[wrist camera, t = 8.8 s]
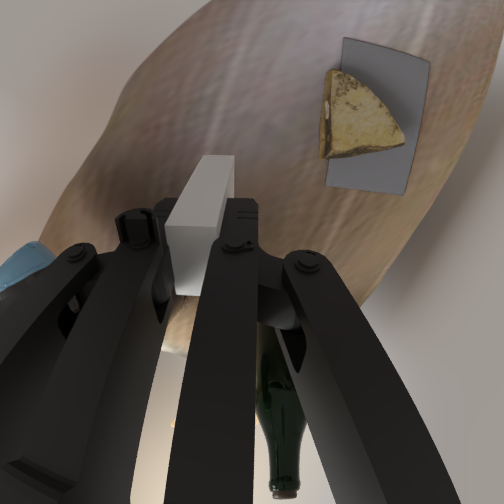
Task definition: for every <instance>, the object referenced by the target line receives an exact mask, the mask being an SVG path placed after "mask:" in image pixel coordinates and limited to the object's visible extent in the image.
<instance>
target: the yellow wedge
mask: <svg viewBox="0 0 504 504" xmlns="http://www.w3.org/2000/svg"><path fill="white" fill-rule="evenodd" d="M319 140H320V153H319V156H318V158H319V160H326V159H339V158H348V157H354V156H358V155H362V154H367V153H374V152H380V151H383V150H389V149H392V148H396V147H401V146H404V145H405V142H406V141H405V136H404V134H403V132H402V131H401V129H400V127H399V126H398V124H397V122H396V121H395V119H394V118H393V117H392V116H391V114H390V111H389V109H388V108H387V106H385V104H384V103H383V102H382V101H381V100H380V99H379V98H378V97H377V96H376V95H375V94H374V93H373V92H372V91H371V90H370V89H369V87H368V86H366V85H364V84H362V83H360V82H359V81H358V80H356V79H355V78H354V77H352V76H351V75H349V74H347V73H343V72H341V71H338V70H333V69H332V70H330V71H328V72H327V74H326V79H325V93H324V96H323V105H322V111H321V118H320V129H319Z"/></svg>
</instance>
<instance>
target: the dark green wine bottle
mask: <svg viewBox="0 0 504 504" xmlns="http://www.w3.org/2000/svg"><path fill="white" fill-rule="evenodd" d="M255 412H256V415H257V418H258V420H259V423H260V425H261V427H262V430H263V432H264V435H265V438H266V441H267V445H268V452H269V463H270V481H269V489H270V491H271V492H273V498H274V499H293V498H296V497H297V493H296V492H297V491H298V490H299V489H300V477H299V460H300V447H301V441H302V437H303V433H304V430H305V428H306V425H307V420H306V417H305V414H304V412H303V409H302V406H301V403H300V400H299V397H298V394H297V392H296V389H295V386H294V383H293V380H292V377H291V374H290V372H289V369H288V366H287V363H286V360H285V357H284V354H283V352H282V349H281V346H280V343H279V340H278V337H277V334H276V331H275V327H272V326H269V325H266V324H263V323H259V322H257V358H256V404H255Z"/></svg>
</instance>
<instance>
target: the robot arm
mask: <svg viewBox="0 0 504 504" xmlns="http://www.w3.org/2000/svg"><path fill="white" fill-rule="evenodd" d="M115 222H116V226H117V231H118V235H119V239H120V244H119V246H118V247H117V249H116V250H115V251H113V252H108V253H102V254H97V252H96V249H95V247H94V245H92V244H90V243H78V244H75V245H73V246H71V247H69V248H67V249H66V250H65V251H63V252H62V253H61V254H60V255H59V256H58V257H56V256H55V255H54V254H53V253H52V252H51V251H50V250H49V249H48V248H47V247H46V246H45V245H44V244H42V243H41V242H38V241H31V242H29V243H27V244H25V245H24V246H23V247H21V248H20V249H19V250H17V251H16V252H15V253H14V254H13V255H12V256H11V257H9V258H8V259H7V260H6V261H5V262H4V263H3V264H2V265H1V266H0V504H130V493H131V487H132V481H133V475H134V469H135V463H136V458H137V452H138V447H139V442H140V437H141V432H142V427H143V423H144V418H145V413H146V409H147V404H148V400H149V395H150V391H151V387H152V383H153V378H154V374H155V370H156V366H157V362H158V358H159V354H160V351H161V347H162V343H163V339H164V336H165V332H166V328H167V325H168V324H169V323H170V322H171V320H172V319H173V318H174V317H175V315H176V314H177V313H178V312H179V310H180V308H181V306H182V303H183V300H184V296H185V295H190V296H200V298H199V303H198V307H197V312H196V317H195V321H194V326H193V331H192V336H191V341H190V346H189V351H188V356H187V361H186V366H185V372H184V377H183V382H182V388H181V393H180V399H179V405H178V410H177V417H176V422H175V428H174V435H173V440H172V447H171V453H170V460H169V467H168V474H167V481H166V489H165V497H164V503H163V504H253V480H254V444H255V404H256V358H257V322H259V323H263V324H266V325H269V326H272V327H275V331H276V334H277V337H278V340H279V343H280V346H281V349H282V352H283V354H284V357H285V360H286V363H287V366H288V369H289V372H290V374H291V377H292V380H293V383H294V386H295V389H296V392H297V394H298V397H299V400H300V403H301V406H302V409H303V412H304V414H305V417H306V420H307V423H308V426H309V429H310V431H311V434H312V437H313V440H314V443H315V446H316V448H317V451H318V454H319V457H320V459H321V462H322V465H323V468H324V471H325V474H326V477H327V479H328V482H329V485H330V488H331V491H332V494H333V496H334V499H335V502H336V504H461V503H460V500H459V497H458V495H457V493H456V490H455V488H454V485H453V483H452V481H451V479H450V476H449V474H448V472H447V470H446V467H445V465H444V463H443V461H442V459H441V456H440V454H439V452H438V450H437V448H436V446H435V444H434V442H433V440H432V438H431V436H430V434H429V431H428V429H427V427H426V425H425V423H424V421H423V419H422V418H421V416H420V414H419V412H418V410H417V408H416V406H415V404H414V402H413V400H412V398H411V396H410V395H409V393H408V391H407V389H406V387H405V385H404V383H403V382H402V380H401V378H400V376H399V374H398V373H397V371H396V369H395V367H394V365H393V364H392V362H391V360H390V358H389V357H388V355H387V353H386V351H385V350H384V348H383V346H382V344H381V343H380V341H379V339H378V338H377V336H376V334H375V333H374V331H373V329H372V328H371V326H370V324H369V323H368V321H367V319H366V318H365V316H364V315H363V313H362V311H361V310H360V308H359V306H358V305H357V303H356V301H355V300H354V298H353V297H352V295H351V293H350V292H349V290H348V289H347V287H346V286H345V284H344V282H343V281H342V279H341V278H340V276H339V275H338V273H337V272H336V270H335V268H334V267H333V265H332V264H331V262H330V261H329V260H328V259H327V258H326V257H325V256H323V255H322V254H320V253H318V252H314V251H311V250H297V251H293V252H291V253H289V254H288V255H286V256H285V258H284V259H281V258H277V257H274V256H271V255H269V254H267V253H265V252H264V251H263V250H262V249H261V248H260V246H259V244H258V204H257V203H256V202H255V200H254V199H249V198H234V155H203V156H202V158H201V160H200V161H199V163H198V165H197V167H196V168H195V170H194V172H193V174H192V175H191V177H190V179H189V181H188V182H187V184H186V186H185V188H184V190H183V191H182V193H181V195H180V197H179V198H165V199H163V200H162V201H160V202H159V203H157V204H156V206H155V207H154V209H153V210H151V209H147V208H137V209H132V210H128V211H126V212H124V213H122V214H120V215H119V216H117V217H116V218H115Z"/></svg>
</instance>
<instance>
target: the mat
mask: <svg viewBox="0 0 504 504" xmlns="http://www.w3.org/2000/svg"><path fill="white" fill-rule="evenodd" d="M429 65H430V63H429V62H427V61H424V60H421V59H419V58H416V57H413V56H410V55H407V54H404V53H401V52H398V51H394V50H391V49H388V48H384V47H380V46H377V45H373V44H369V43H365V42H361V41H356V40H352V39H347V38H343V50H342V61H341V72H343V73H347V74H349V75H351V76H352V77H354V78H355V79H356V80H358V81H359V82H360V83H362V84H364V85H366V86H368V87H369V89H370V90H371V91H372V92H373V93H374V94H375V95H376V96H377V97H378V98H379V99H380V100H381V101H382V102H383V103H384V104H385V106H387V108H388V109H389V111H390V114H391V116H392V117H393V118H394V119H395V121H396V122H397V124H398V126H399V127H400V129H401V131H402V132H403V134H404V136H405V141H406V142H405V145H404V146H401V147H396V148H392V149H389V150H383V151H380V152H374V153H367V154H362V155H358V156H354V157H348V158H339V159H329V165H328V171H327V177H326V183H325V186H330V187H339V188H348V189H357V190H365V191H373V192H380V193H388V194H395V195H402V196H403V194H404V191H405V187H406V184H407V180H408V176H409V172H410V169H411V165H412V160H413V156H414V152H415V148H416V143H417V139H418V134H419V129H420V124H421V119H422V113H423V107H424V101H425V95H426V88H427V81H428V73H429Z"/></svg>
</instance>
